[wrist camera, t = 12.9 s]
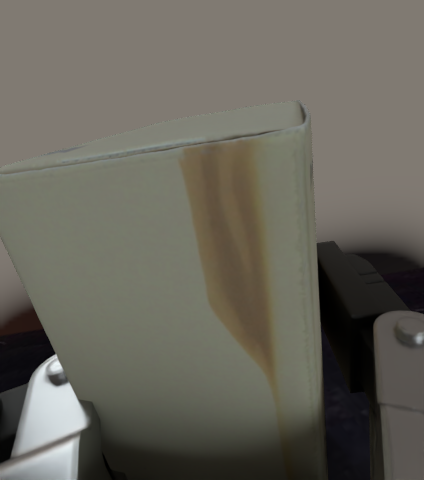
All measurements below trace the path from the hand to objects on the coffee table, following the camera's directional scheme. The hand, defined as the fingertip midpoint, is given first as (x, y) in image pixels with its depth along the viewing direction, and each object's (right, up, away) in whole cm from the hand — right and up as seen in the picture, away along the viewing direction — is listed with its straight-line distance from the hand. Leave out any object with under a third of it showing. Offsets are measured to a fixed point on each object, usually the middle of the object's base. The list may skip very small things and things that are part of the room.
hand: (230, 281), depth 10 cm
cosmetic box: (+1, -8, +1) cm, 8 cm away
